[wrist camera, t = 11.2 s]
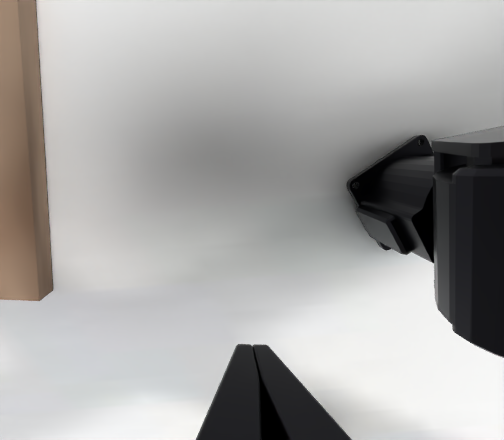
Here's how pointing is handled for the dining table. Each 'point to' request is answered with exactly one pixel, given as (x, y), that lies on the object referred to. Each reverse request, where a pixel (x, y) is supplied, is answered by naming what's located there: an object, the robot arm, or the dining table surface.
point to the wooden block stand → (22, 159)
